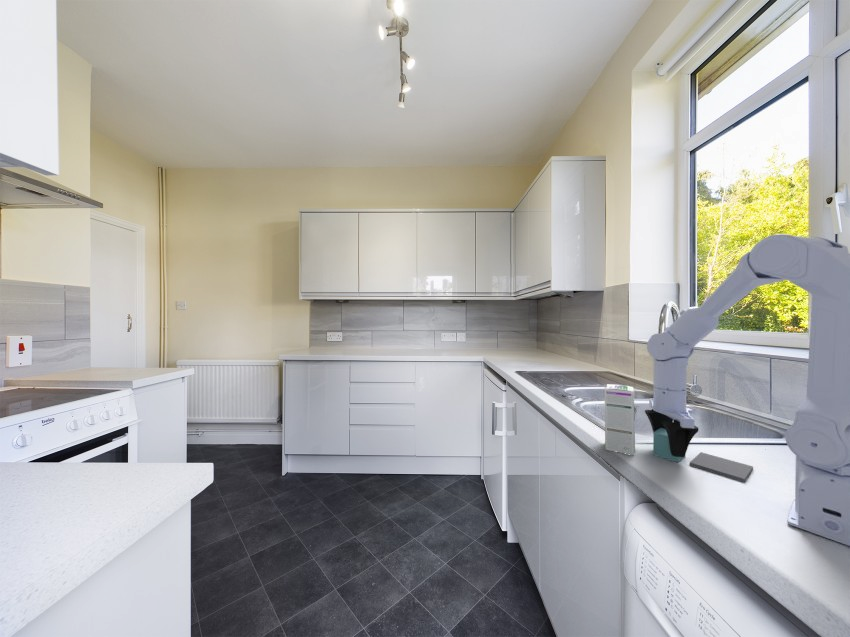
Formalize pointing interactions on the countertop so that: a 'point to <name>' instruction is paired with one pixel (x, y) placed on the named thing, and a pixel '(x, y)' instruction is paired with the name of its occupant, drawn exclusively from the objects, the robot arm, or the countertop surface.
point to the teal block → (663, 445)
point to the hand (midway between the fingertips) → (669, 449)
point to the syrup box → (619, 418)
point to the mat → (722, 466)
